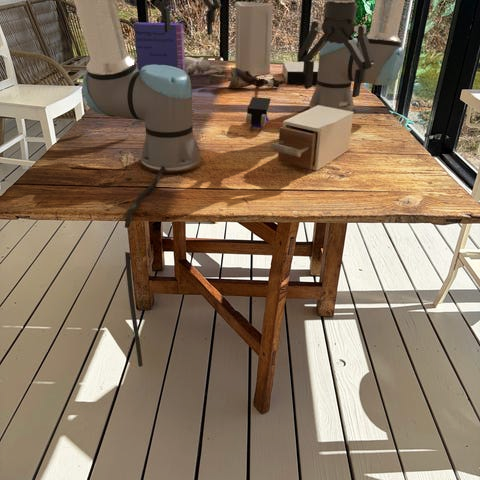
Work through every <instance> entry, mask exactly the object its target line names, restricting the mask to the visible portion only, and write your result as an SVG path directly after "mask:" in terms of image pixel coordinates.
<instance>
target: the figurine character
mask: <svg viewBox="0 0 480 480" xmlns="http://www.w3.org/2000/svg"><path fill="white" fill-rule="evenodd" d="M271 100H272V99H271V98H270V97H269V98H268V97H257V96H252V97H251V99H250V101H249V104H248V106H247V110H246V116H245V117H246V118H245V126H250V129H249V131H253V130H254V128H256V129H259V130H258V131H259V132H262V131H263V127H265V126H267V123H268V122H270V119H269V117H268V116H269V115H268V114H269V113H268V110H269V106H270V103H271Z"/></svg>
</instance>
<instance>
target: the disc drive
mask: <svg viewBox="0 0 480 480" xmlns="http://www.w3.org/2000/svg"><path fill="white" fill-rule="evenodd" d="M313 62H314V69H313V81H312V85H317V76H318V65H319V61H313ZM303 69H304V61H282V69H281V71H282V74H283V76H284V80H286V84H287V85H305V77H306V75H304V74H303Z"/></svg>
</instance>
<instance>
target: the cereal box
mask: <svg viewBox="0 0 480 480" xmlns="http://www.w3.org/2000/svg"><path fill="white" fill-rule="evenodd" d="M170 31H171V32H168V33H165V25H164V22H144V21H143V22H140V21H139V22H134V23H133V32H134V43H135V53H136V66H137V70H139V71H141V68H142V67H144V66H147V65H167V66H172V67H176V68H179V69H181V70H183V71H185V57H186V55H185V56H184V52H185V37H184V36H185V35H184V23H183V22H182V23H181V22H180V23H179V22H170Z"/></svg>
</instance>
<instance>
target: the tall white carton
mask: <svg viewBox="0 0 480 480" xmlns="http://www.w3.org/2000/svg"><path fill="white" fill-rule="evenodd" d="M273 8H274V4H273V3H269V2H267V3H266V2H265V3H264V2H252V1H235V59H234V60H235V62H234V63H235V65H234V66H235V67H234V68H237V69H240V70H242V71H244V72H245V71H249V72H250V73H251V75H252V76H256V77H257V76H259V75H260V76H261V75H266V74H270V73H271V56H272V55H271V54H272V33H273V32H272V31H273V10H274V9H273Z"/></svg>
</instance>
